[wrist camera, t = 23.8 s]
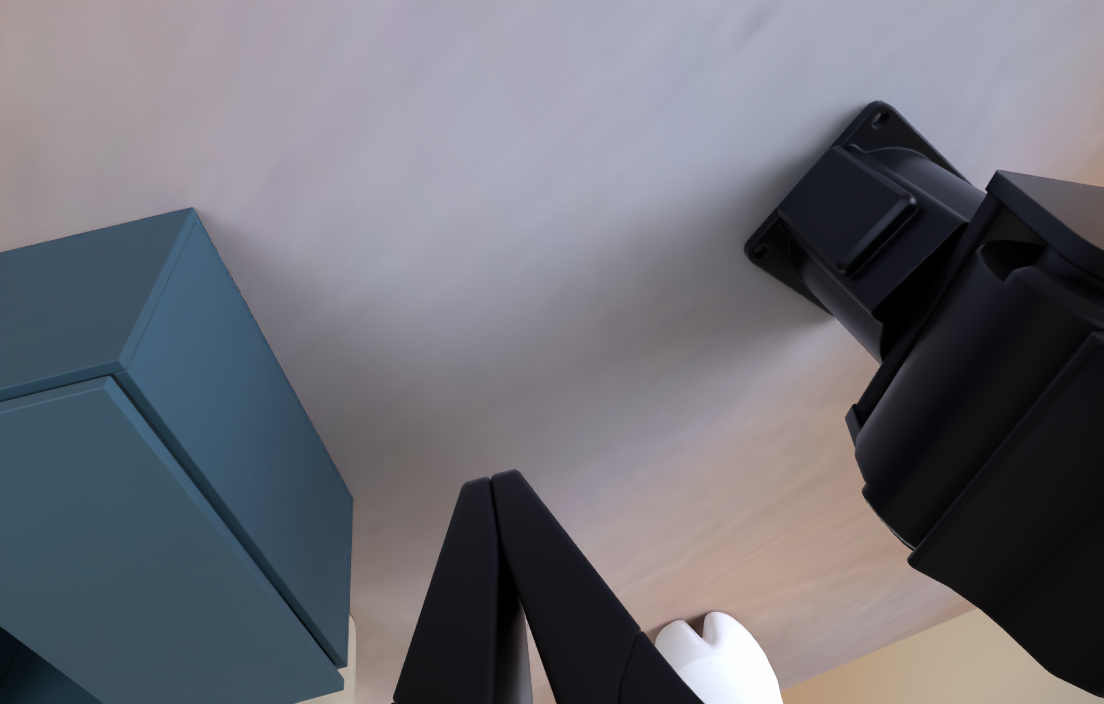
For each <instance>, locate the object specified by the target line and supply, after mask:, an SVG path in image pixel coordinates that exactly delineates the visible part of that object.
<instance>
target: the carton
mask: <svg viewBox="0 0 1104 704" xmlns="http://www.w3.org/2000/svg"><path fill="white" fill-rule="evenodd" d="M106 376H111V377H112V379H113V380H114V381H115V382H116V384H117V385H118V386H119V388H120V389H121V390H122V391H123V393H124V394H125V395H126V397H127V398H128V399H129V401H130V402H131V403H132V404H133V406H134V407H135V408H136V410H137V411H138V412H139V414H140V415H141V416H142V417H143V419H144V420H145V421H146V423H147V424H148V425H149V426H150V428H151V429H152V430H153V432H154V433H155V434H156V436H157V437H158V438H159V439H160V441H161V442H162V443H163V445H164V446H165V447H166V449H167V450H168V451H169V452H170V454H171V455H172V456H173V458H174V459H175V460H176V461H177V463H178V464H179V465H180V467H181V468H182V469H183V471H184V472H185V473H186V474H187V476H188V477H189V478H190V480H191V481H192V482H193V483H194V485H195V486H196V487H197V489H198V490H199V491H200V493H201V494H202V495H203V496H204V498H205V499H206V500H207V502H208V503H209V504H210V506H211V507H212V508H213V509H214V511H215V512H216V513H217V515H218V516H219V517H220V518H221V520H222V521H223V522H224V524H225V525H226V526H227V528H228V529H229V530H230V531H231V533H232V534H233V535H234V537H235V538H236V539H237V540H238V542H239V543H240V544H241V546H242V547H243V548H244V550H245V551H246V552H247V553H248V555H249V556H250V557H251V559H252V560H253V561H254V563H255V564H256V565H257V566H258V568H259V569H260V570H261V572H262V573H263V574H264V575H265V577H266V578H267V579H268V581H269V582H270V583H271V585H272V586H273V587H274V588H275V590H276V591H277V592H278V594H279V595H280V596H281V598H282V599H283V600H284V601H285V603H286V604H287V605H288V607H289V608H290V609H291V610H292V612H293V613H294V614H295V616H296V617H297V618H298V620H299V621H300V622H301V623H302V625H303V626H304V627H305V629H306V630H307V631H308V632H309V634H310V635H311V636H312V638H313V639H314V640H315V642H316V643H317V644H318V645H319V647H320V648H321V649H322V651H323V652H324V653H325V655H326V656H327V657H328V658H329V660H330V661H331V662H332V664H333V665H334V666H335V667H336V669H341V668H344V667H347V666H348V642H349V611H350V581H351V551H352V521H353V498H352V496H351V494H350V492H349V490H348V489H347V487H346V485H345V483H344V481H343V479H342V478H341V476H340V474H339V472H338V470H337V469H336V467H335V465H334V463H333V461H332V459H331V458H330V456H329V454H328V452H327V450H326V449H325V447H324V445H323V443H322V441H321V439H320V438H319V436H318V434H317V432H316V430H315V429H314V427H313V425H312V423H311V421H310V419H309V418H308V416H307V414H306V412H305V410H304V409H303V407H302V405H301V403H300V401H299V399H298V398H297V396H296V394H295V392H294V390H293V389H292V387H291V385H290V383H289V381H288V379H287V378H286V376H285V374H284V372H283V370H282V369H281V367H280V365H279V363H278V361H277V359H276V358H275V356H274V354H273V352H272V350H271V349H270V347H269V345H268V343H267V341H266V339H265V338H264V336H263V334H262V332H261V330H260V329H259V327H258V325H257V323H256V321H255V319H254V318H253V316H252V314H251V312H250V310H249V309H248V307H247V305H246V303H245V301H244V299H243V298H242V296H241V294H240V292H239V290H238V289H237V287H236V285H235V283H234V281H233V279H232V278H231V276H230V274H229V272H228V270H227V269H226V267H225V265H224V263H223V261H222V259H221V258H220V256H219V254H218V252H217V250H216V249H215V247H214V245H213V243H212V241H211V239H210V238H209V236H208V234H207V232H206V230H205V229H204V227H203V225H202V223H201V221H200V219H199V218H198V216H197V214H196V212H195V210H194V209H193V207H191V208H187V209H183V210H179V211H175V212H170V213H166V214H162V215H158V216H153V217H149V218H145V219H141V220H137V221H132V222H128V223H124V224H120V225H115V226H111V227H107V228H103V229H99V230H94V231H90V232H86V233H82V234H77V235H73V236H69V237H65V238H61V239H56V240H52V241H48V242H44V243H39V244H35V245H31V246H27V247H23V248H18V249H14V250H10V251H6V252H1V253H0V402H4V401H8V400H12V399H16V398H20V397H24V396H28V395H32V394H36V393H40V392H44V391H49V390H53V389H57V388H61V387H65V386H69V385H73V384H77V383H81V382H85V381H89V380H93V379H98V378H102V377H106ZM0 704H104V703H102V702H101V701H100V700H98V699H97V698H96V697H94V696H93V695H92V694H90V693H89V692H88V691H86V690H85V689H84V688H82V687H81V686H80V685H78V684H77V683H76V682H74V681H73V680H72V679H70V678H69V677H68V676H66V675H65V674H64V673H62V672H61V671H60V670H58V669H57V668H56V667H54V666H53V665H52V664H50V663H49V662H48V661H46V660H45V659H44V658H42V657H41V656H40V655H38V654H37V653H36V652H34V651H33V650H32V649H30V648H29V647H28V646H26V645H25V644H24V643H22V642H21V641H20V640H18V639H17V638H16V637H14V636H13V635H12V634H10V633H9V632H8V631H6V630H5V629H4V628H2V627H1V626H0Z"/></svg>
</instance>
